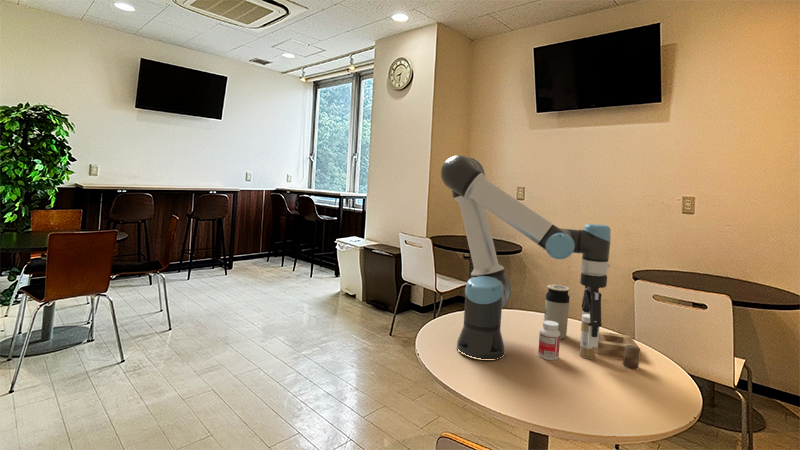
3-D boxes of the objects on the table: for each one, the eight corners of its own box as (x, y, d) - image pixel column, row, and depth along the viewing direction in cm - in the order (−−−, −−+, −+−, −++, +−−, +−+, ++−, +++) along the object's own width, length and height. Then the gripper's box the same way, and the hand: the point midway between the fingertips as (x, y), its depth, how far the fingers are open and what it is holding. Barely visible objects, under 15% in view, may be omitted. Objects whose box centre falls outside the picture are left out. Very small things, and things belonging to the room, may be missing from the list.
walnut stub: (625, 368, 122) (627, 348, 121) (621, 362, 125) (623, 344, 125) (639, 370, 120) (641, 351, 120) (636, 364, 124) (638, 346, 124)
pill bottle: (549, 351, 132) (552, 319, 130) (562, 359, 126) (565, 325, 125) (533, 353, 129) (536, 320, 128) (546, 361, 124) (549, 327, 123)
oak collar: (597, 353, 132) (598, 343, 131) (591, 340, 143) (592, 330, 143) (638, 359, 128) (639, 348, 128) (628, 345, 140) (629, 335, 140)
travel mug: (568, 334, 148) (572, 286, 146) (563, 341, 141) (568, 291, 140) (545, 329, 152) (549, 283, 150) (540, 335, 146) (544, 287, 144)
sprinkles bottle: (597, 357, 128) (601, 316, 127) (589, 360, 126) (592, 318, 125) (584, 352, 132) (587, 312, 131) (575, 354, 130) (579, 314, 128)
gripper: (616, 283, 113) (610, 355, 115) (599, 267, 137) (594, 327, 139) (587, 280, 116) (582, 351, 118) (575, 265, 139) (571, 324, 141)
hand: (588, 338), depth 128 cm, fingers open, 13 cm apart
